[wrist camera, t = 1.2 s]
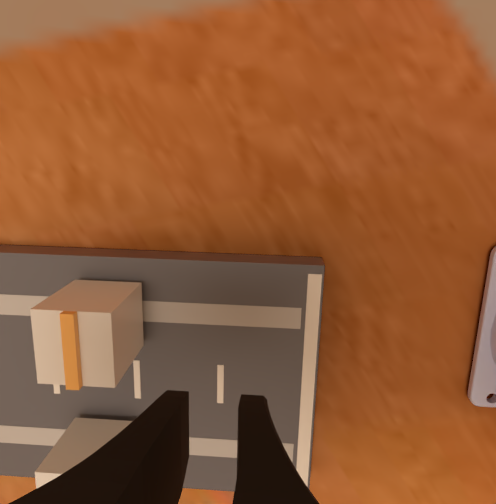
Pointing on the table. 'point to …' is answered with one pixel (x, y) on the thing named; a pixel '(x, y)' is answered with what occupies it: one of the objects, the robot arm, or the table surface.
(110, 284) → the fader
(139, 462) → the robot arm
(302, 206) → the table surface
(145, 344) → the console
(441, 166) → the table surface
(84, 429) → the fader
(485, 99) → the table surface
